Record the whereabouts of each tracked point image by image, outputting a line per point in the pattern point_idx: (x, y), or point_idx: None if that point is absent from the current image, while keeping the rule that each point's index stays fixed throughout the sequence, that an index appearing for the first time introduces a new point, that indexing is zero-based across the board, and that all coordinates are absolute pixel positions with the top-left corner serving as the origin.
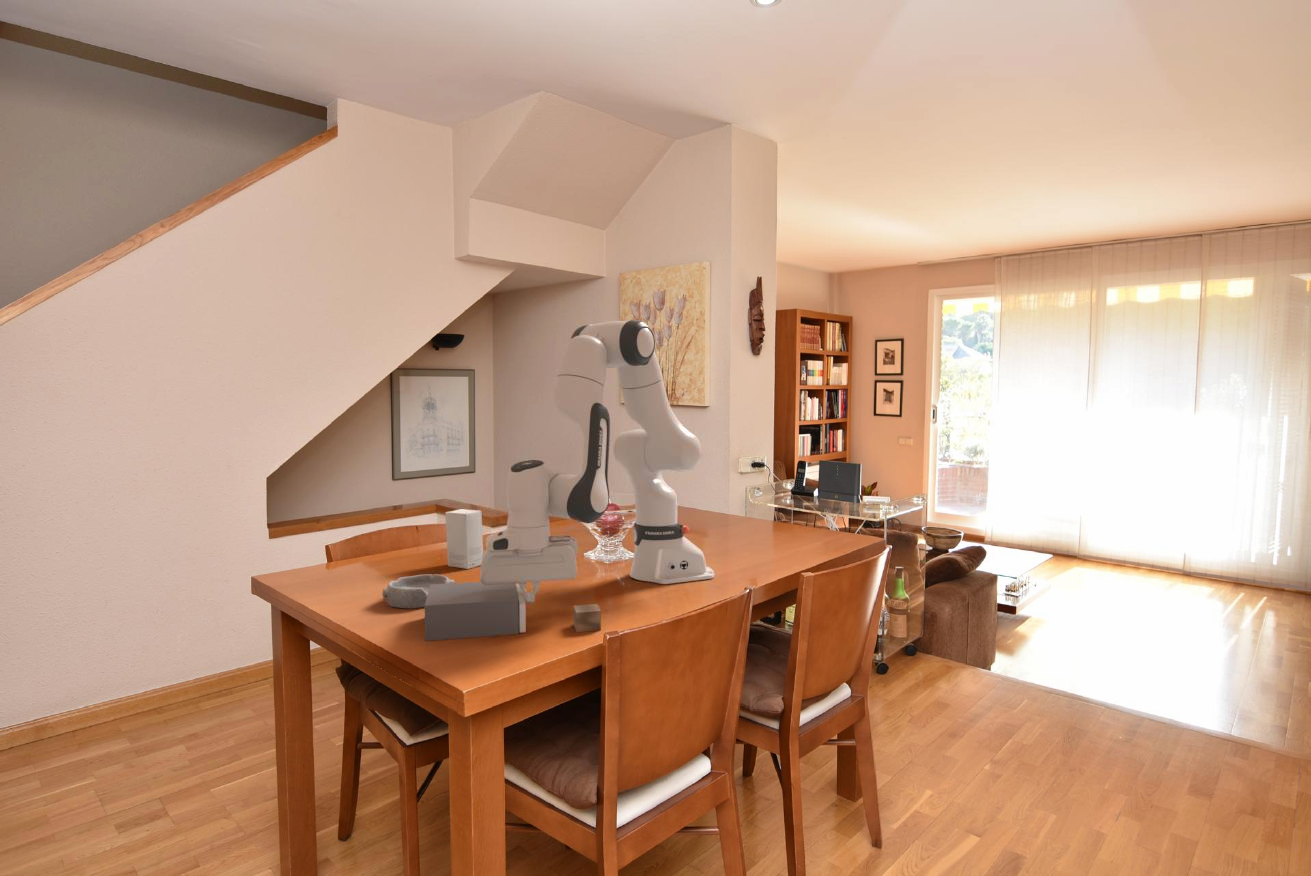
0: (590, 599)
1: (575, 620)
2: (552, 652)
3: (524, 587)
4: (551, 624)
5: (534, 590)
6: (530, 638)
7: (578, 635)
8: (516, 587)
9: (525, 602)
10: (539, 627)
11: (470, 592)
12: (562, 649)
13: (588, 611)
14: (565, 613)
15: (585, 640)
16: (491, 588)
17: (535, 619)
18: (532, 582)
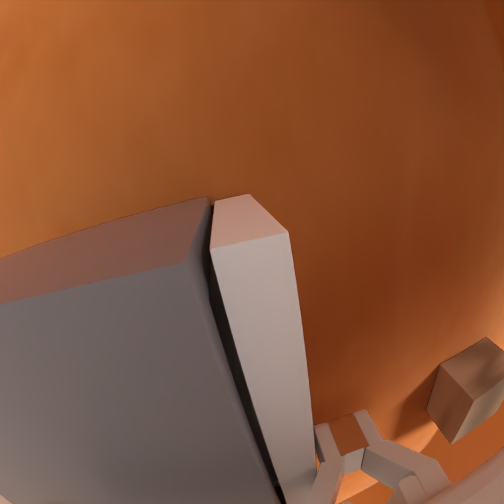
0: (498, 77)
1: (442, 413)
2: (348, 488)
3: (334, 490)
4: (383, 378)
5: (385, 480)
6: None
7: (421, 424)
8: (242, 369)
9: (315, 446)
10: (342, 408)
11: (45, 497)
12: (368, 477)
13: (476, 426)
14: (447, 250)
15: (422, 438)
16: (94, 492)
17: (333, 338)
18: (398, 502)
